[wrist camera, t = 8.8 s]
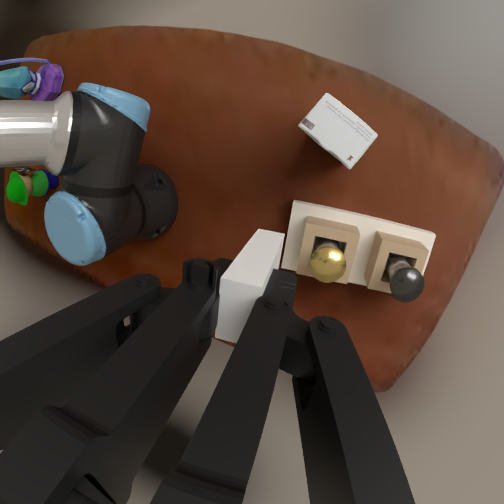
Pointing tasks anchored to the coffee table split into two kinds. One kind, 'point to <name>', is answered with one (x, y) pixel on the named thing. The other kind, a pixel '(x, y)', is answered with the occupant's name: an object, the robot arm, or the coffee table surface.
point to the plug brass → (327, 261)
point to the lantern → (31, 81)
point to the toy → (29, 184)
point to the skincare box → (338, 130)
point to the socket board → (363, 240)
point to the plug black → (403, 278)
